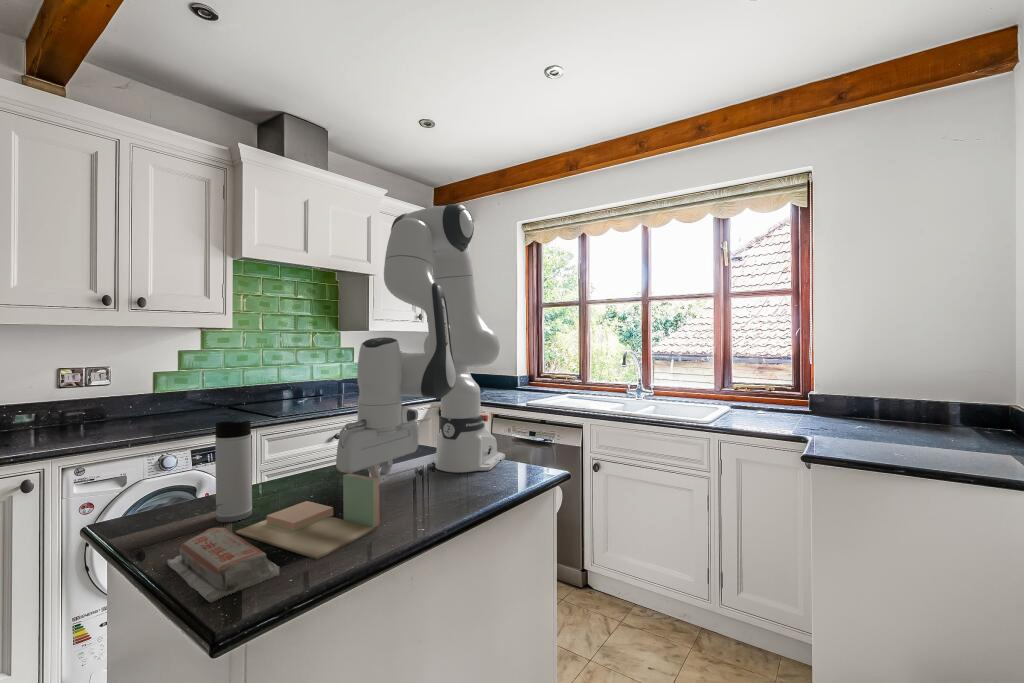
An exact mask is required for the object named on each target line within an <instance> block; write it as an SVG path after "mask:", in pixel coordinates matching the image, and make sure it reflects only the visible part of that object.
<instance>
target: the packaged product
mask: <svg viewBox="0 0 1024 683" xmlns="http://www.w3.org/2000/svg"><path fill="white" fill-rule="evenodd" d="M178 551H179V555H177V556H175V557H174V558H173V559H166V562H167V565H168V567H170V568H171V569H172V570H173V571H175V572H176V573H177V574H178V575H179V576H180V577H181V578H182V579H183V580H184V581H185V582H186V583H187V584H188V586H189V587H191V588H192V589H193V588H194V589H193V590H195V591H196V592H197V591H198V592H197V593H199V594H200V595H201V596H202V597H203V598H204V599H205V600H206V601H208V602H209V603H213V602H216V601H218V599H219V600H221V599H223V598H222V597H224V596H226V597H228V596H227V595H229V594H231V595H233V594H232V593H234V594H236V593H238V592H237V591H239V590H241V591H243V590H242V589H244V588H246V587H249V586H251V585H253V584H255V583H258V582H260V581H264V580H266V579H268V578H271V577H273V576H276V575H278V574H279V575H280V566H279V565H277V564H276V563H274V562H272V561H271V560H270V559H268V557H267V553H266V552H264V551H262V550H261V549H260V548H258V547H256V546H255V545H254V544H251V543H250V542H249V541H247V540H245V539H243V538H242V537H240V536H239V535H238V534H236V533H233V532H232V531H231V530H229V529H227V527H212V528H209V529H206V530H205V531H203V532H201V533H200V534H197V535H194V537H192V538H189V539H188V540H185V541H184V542H182V544H180V547H179V550H178ZM279 575H278V576H279ZM276 577H277V576H276ZM273 578H274V577H273ZM271 579H272V578H271ZM268 580H269V579H268ZM266 581H267V580H266ZM264 582H265V581H264ZM253 586H254V585H253ZM251 587H252V586H251ZM249 588H250V587H249ZM246 589H247V588H246ZM244 590H245V589H244ZM235 592H236V593H235ZM239 592H240V591H239ZM229 596H230V595H229ZM220 598H221V599H220ZM224 598H225V597H224Z"/></svg>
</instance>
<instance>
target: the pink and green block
mask: <svg viewBox="0 0 1024 683" xmlns="http://www.w3.org/2000/svg"><path fill="white" fill-rule="evenodd" d="M342 479H343V480H342V482H343V483H342V490H343V492H342V495H343V497H342V501H343V505H342V506H343V510H342V511H343V520H345V521H349V522H353V523H357V524H361V525H365V526H369V527H373V528H376V527H378V526H380V485H379V479H378V478H372V476H367V475H360V474H355V473H346V474H343V475H342Z"/></svg>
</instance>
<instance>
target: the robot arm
mask: <svg viewBox="0 0 1024 683" xmlns="http://www.w3.org/2000/svg"><path fill="white" fill-rule="evenodd" d="M474 227H475V226H474V220H473V216H472V215H471V213H470V211H469V210H468V209H467V208H466V207H465V206H464V205H462V204H457V203H454V204H453V203H450V204H449V203H448V204H447V205H436V206H435V205H433V206H429V207H428V206H427V207H425V208H422V209H418V210H415V211H412V212H405V213H402V214H400V215H398V216H396V217H395V219H394V220H393V222H392V224H391V229H390V235H389V238H388V241H387V244H386V245H387V247H386V251H385V256H384V266H383V282H384V285H385V287H386V289H387V290H388V292H390V293H391V295H392V296H394V297H395V298H396V299H398V300H399V301H402V302H404V303H406V304H409V305H412V306H414V307H417V308H420V309H421V310H423V312H424V313H425V315H426V318H427V328H428V334H427V335H426V337H425V339H424V342H423V350H424V352H421V353H420V352H419V353H418V352H403V351H401V350H400V343H399V341H398V339H396V338H393V337H376V338H370V339H369V338H368V339H367V340H365V341H363V342H362V343H361V344H360V348H359V352H358V360H357V373H356V374H357V376H356V377H357V386H358V388H359V394H358V398H357V421H354V422H348V423H346V424H344V426H343V427H342V428H341V429H340V431H339V433H338V443H337V447H336V448H337V449H336V459H335V466H336V469H337V470H338V471H339V472H342V473H346V474H349V473H351V474H354V473H356V472H360V471H363V470H365V469H367V471H368V473H369V474H370V477H372V478H378V479H379V486H380V485H382V484H385V483H388V482H389V481H390V480H389V475H390V474H389V473H390V472H391V469H392V467H393V464H394V463H393V460H395V459H397V458H401V457H403V456H407V455H410V454H413V453H415V452H416V451H417V449H418V447H419V439H420V438H419V424H418V422H417V420H418V419H419V412H418V411H419V410H417V409H413V408H409V407H405V406H403V399H402V397H424V398H428V399H437V400H440V414H441V415H440V416H439V421H438V424H439V430H440V432H439V433H438V434H437V439H436V449H435V450H436V451H435V453H436V454H435V457H434V458H433V461H432V462H433V463H434V464H435V466H434V467H435V469H437V470H440V471H442V472H446V473H447V472H448V473H470V472H478V471H481V472H482V471H491V469H493V468H494V467H495V466H496V465H498V464H499V463H501V461H503V460H504V459H505V458H506V454H505V453H502V452H500V451H498V443H497V439H496V437H495V436H494V435H493V434H492V433H490V432H489V431H488V430H487V428H485V423H486V422H488V421H489V415H488V414H484V413H482V414H481V388H480V385H479V384H478V383H477V382H476V381H475V379H474V378H473V377H472V375H471V372H470V368H479V367H485V366H488V365H491V364H493V363H494V362H495V361H496V359H497V358H498V356H499V353H500V340H499V338H498V336H497V334H496V333H495V332H494V331H493V330H492V329H490V327H489V326H488V325H487V323H486V321H485V320H484V319H483V316H482V314H481V312H480V310H479V306H478V304H477V303H478V302H477V296H476V290H475V282H474V272H473V266H472V261H471V256H470V252H469V250H468V246H469V244H470V243H471V240H472V238H473V235H474V230H475V228H474ZM484 422H485V423H484ZM495 459H497V460H495ZM499 460H501V461H499ZM379 470H380V471H379Z"/></svg>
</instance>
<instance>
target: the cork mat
mask: <svg viewBox="0 0 1024 683" xmlns="http://www.w3.org/2000/svg"><path fill="white" fill-rule="evenodd" d="M375 529H376V527H374V528H373V527H369V526H365V525H361V524H357V523H353V522H349V521H345V520H344V519H341V518H337V517H334V516H330V517H328V518H326V519H323V520H321V521H319V522H316V523H314V524H311V525H309V526H307V527H304V528H302V529H300V530H297V531H295V532H293V531H289V530H286V529H283V528H279V527H276V526H272V525H269V524H267V519H264V520H261V521H259V522H256V523H253V524H251V525H248V526H245V527H243V528H240V529H238V530H236V531H235V534H236V535H241V536H244V537H247V538H250V539H253V540H255V541H259V542H262V543H265V544H267V545H271V546H274V547H277V548H280V549H283V550H286V551H290V552H292V553H295V554H298V555H299V554H300V555H302V556H305V557H308V558H310V559H314V558H315V559H314V560H318V559H320V558H323V557H324V556H326V555H328V554H331V553H332V552H335V551H337V550H338V549H340V548H342V547H344V546H346V545H349V544H350V543H352V542H354V541H356V540H357V539H359V538H362V537H363V536H366V535H368V534H370V533H371V532H374V531H375Z"/></svg>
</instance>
